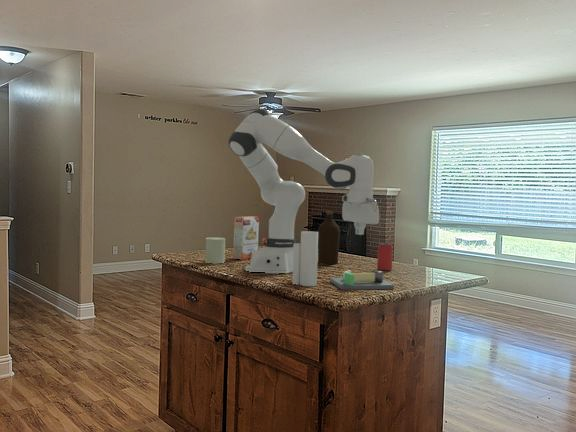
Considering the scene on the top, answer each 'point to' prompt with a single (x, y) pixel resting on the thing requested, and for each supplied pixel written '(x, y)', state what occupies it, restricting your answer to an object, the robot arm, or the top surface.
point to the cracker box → (245, 237)
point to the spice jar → (369, 277)
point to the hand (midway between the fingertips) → (359, 234)
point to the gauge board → (358, 283)
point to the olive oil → (328, 241)
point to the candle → (305, 259)
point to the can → (215, 250)
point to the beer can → (385, 256)
